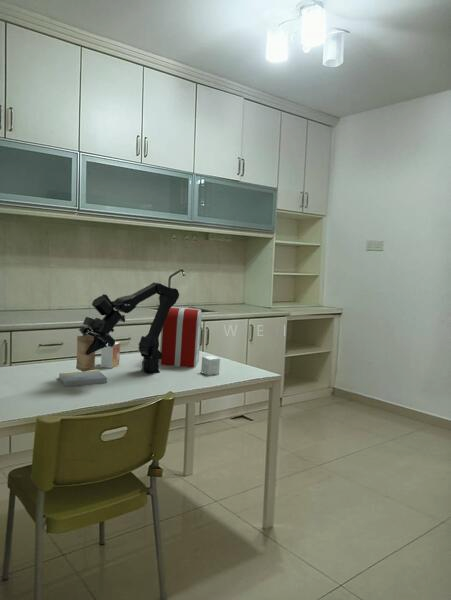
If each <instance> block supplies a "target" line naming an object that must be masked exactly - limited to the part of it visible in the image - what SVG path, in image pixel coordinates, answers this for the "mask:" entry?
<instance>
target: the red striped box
mask: <svg viewBox="0 0 451 600" xmlns="http://www.w3.org/2000/svg"><path fill="white" fill-rule="evenodd" d="M202 314H203V313H202V309H200V308H192V307H191V308H190V307H189V308H188V307H180V306H179V307H178V306H177V307H176V306H172V307H171V308H170V310H169V312H168V315H167V317H166V320H165V322H164V325H163V328H162V330H161V333H160V342H159V347H160V348H159V351H160V352H161V353H162V358H161V359H159V366H168V367H169V366H170V367H172V366H173V367H181V368H182V367H184V368H194V369H195V368H196V367H197V365H198V363H199V360H200V348H201V346H200V345H201V332H202V331H201V329H202Z"/></svg>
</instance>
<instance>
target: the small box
mask: <svg viewBox="0 0 451 600" xmlns="http://www.w3.org/2000/svg"><path fill="white" fill-rule="evenodd" d="M106 346H107V347H104V348H102V349H101V357H100V359H101V360H100V367H101V368H108V369H113V368H115V367H117V366H119V365H120V360H121V359H120V356H121V355H120V354H121V342H119V341H118V342H116V341H115V345H114V346H113V347H109V346H108V343H107V344H106Z"/></svg>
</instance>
